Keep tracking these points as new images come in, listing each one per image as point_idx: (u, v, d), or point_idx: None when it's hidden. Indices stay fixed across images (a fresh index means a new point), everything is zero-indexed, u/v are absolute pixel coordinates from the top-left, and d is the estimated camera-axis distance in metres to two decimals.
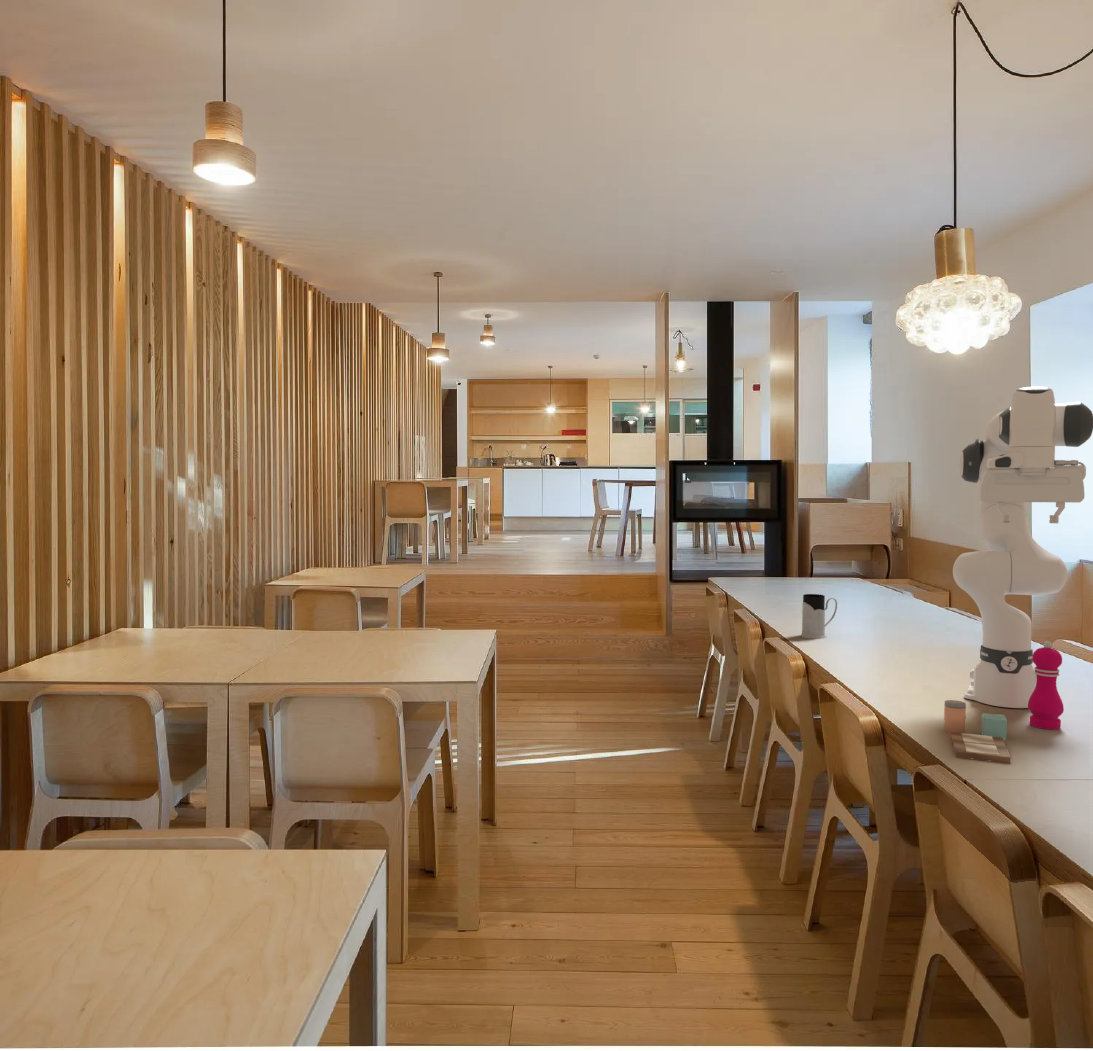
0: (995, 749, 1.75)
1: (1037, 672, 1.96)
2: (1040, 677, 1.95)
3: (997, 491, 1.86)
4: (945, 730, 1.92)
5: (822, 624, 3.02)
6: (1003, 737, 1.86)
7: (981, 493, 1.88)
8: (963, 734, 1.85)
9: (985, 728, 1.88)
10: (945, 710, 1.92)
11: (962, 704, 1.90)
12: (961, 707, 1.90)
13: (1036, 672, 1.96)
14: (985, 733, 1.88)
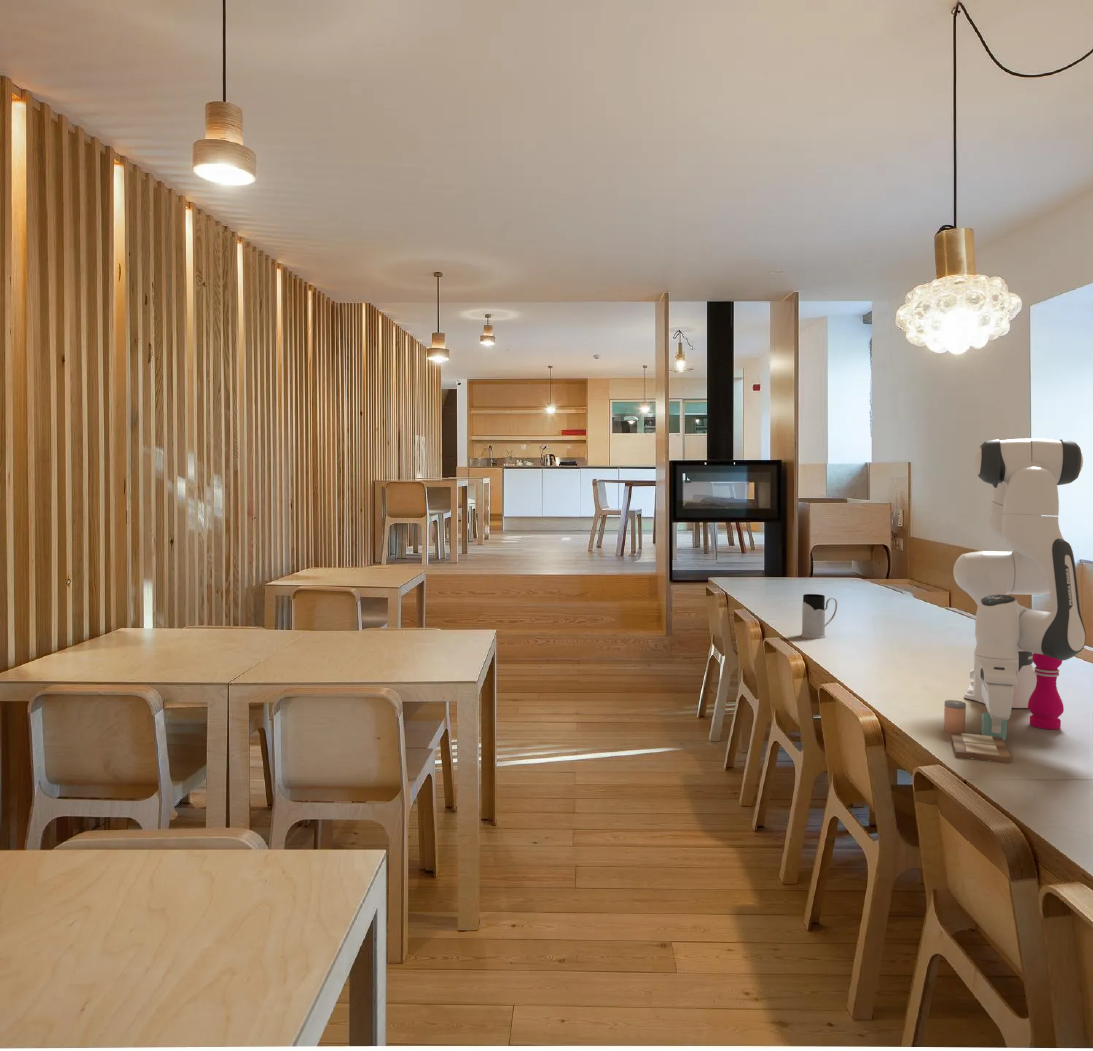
0: (995, 749, 1.75)
1: (1037, 672, 1.96)
2: (1040, 677, 1.95)
3: None
4: (945, 730, 1.92)
5: (822, 624, 3.02)
6: (1003, 736, 1.86)
7: (1010, 712, 1.79)
8: (963, 734, 1.85)
9: (985, 728, 1.88)
10: (945, 710, 1.92)
11: (962, 704, 1.90)
12: (961, 707, 1.90)
13: (1036, 672, 1.96)
14: (985, 733, 1.88)
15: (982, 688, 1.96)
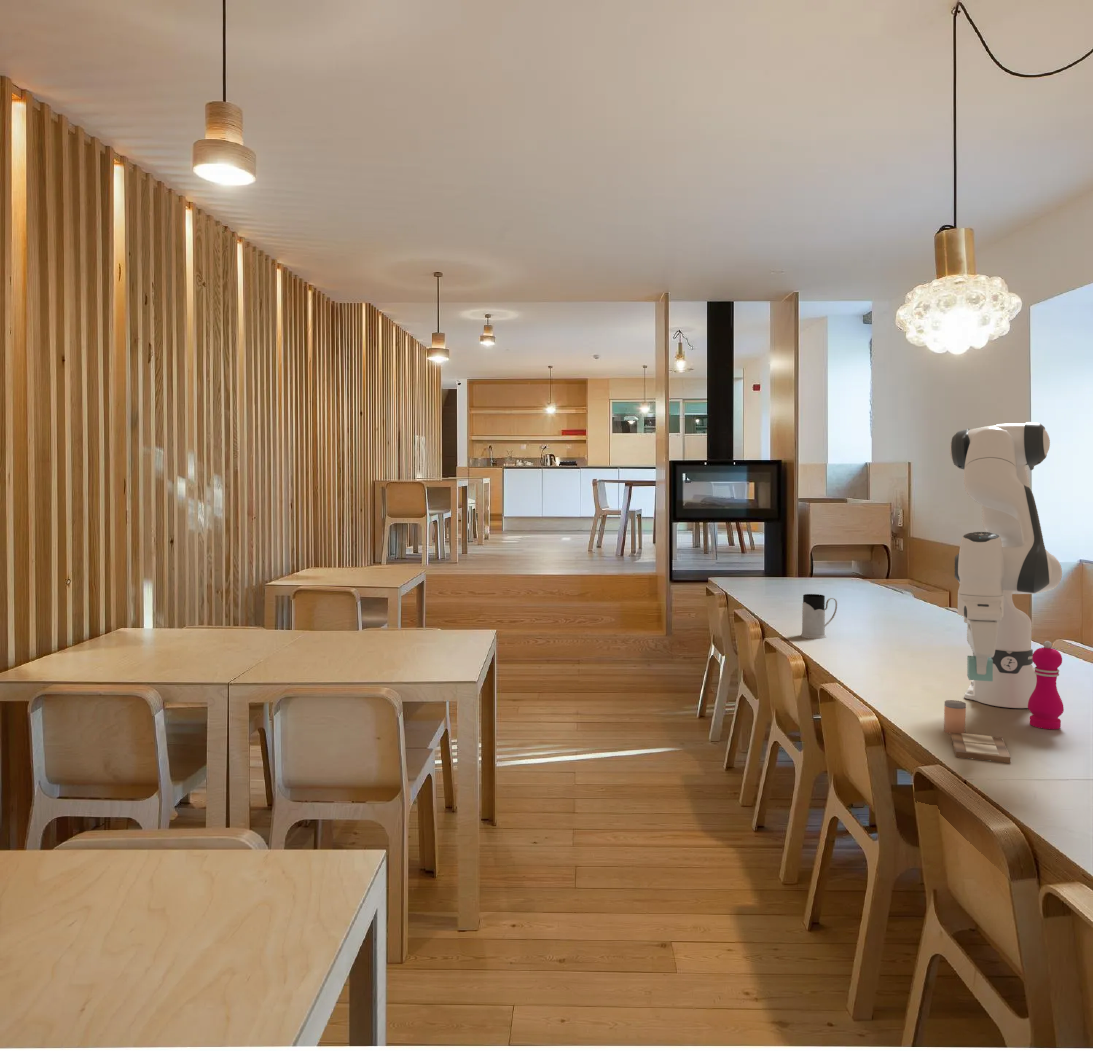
0: (995, 749, 1.75)
1: (1037, 672, 1.96)
2: (1040, 677, 1.95)
3: None
4: (945, 730, 1.92)
5: (822, 624, 3.02)
6: (989, 678, 1.79)
7: (994, 649, 1.72)
8: (963, 734, 1.85)
9: (970, 669, 1.80)
10: (945, 710, 1.92)
11: (962, 704, 1.90)
12: (961, 707, 1.90)
13: (1036, 672, 1.96)
14: (970, 674, 1.80)
15: (967, 632, 1.89)
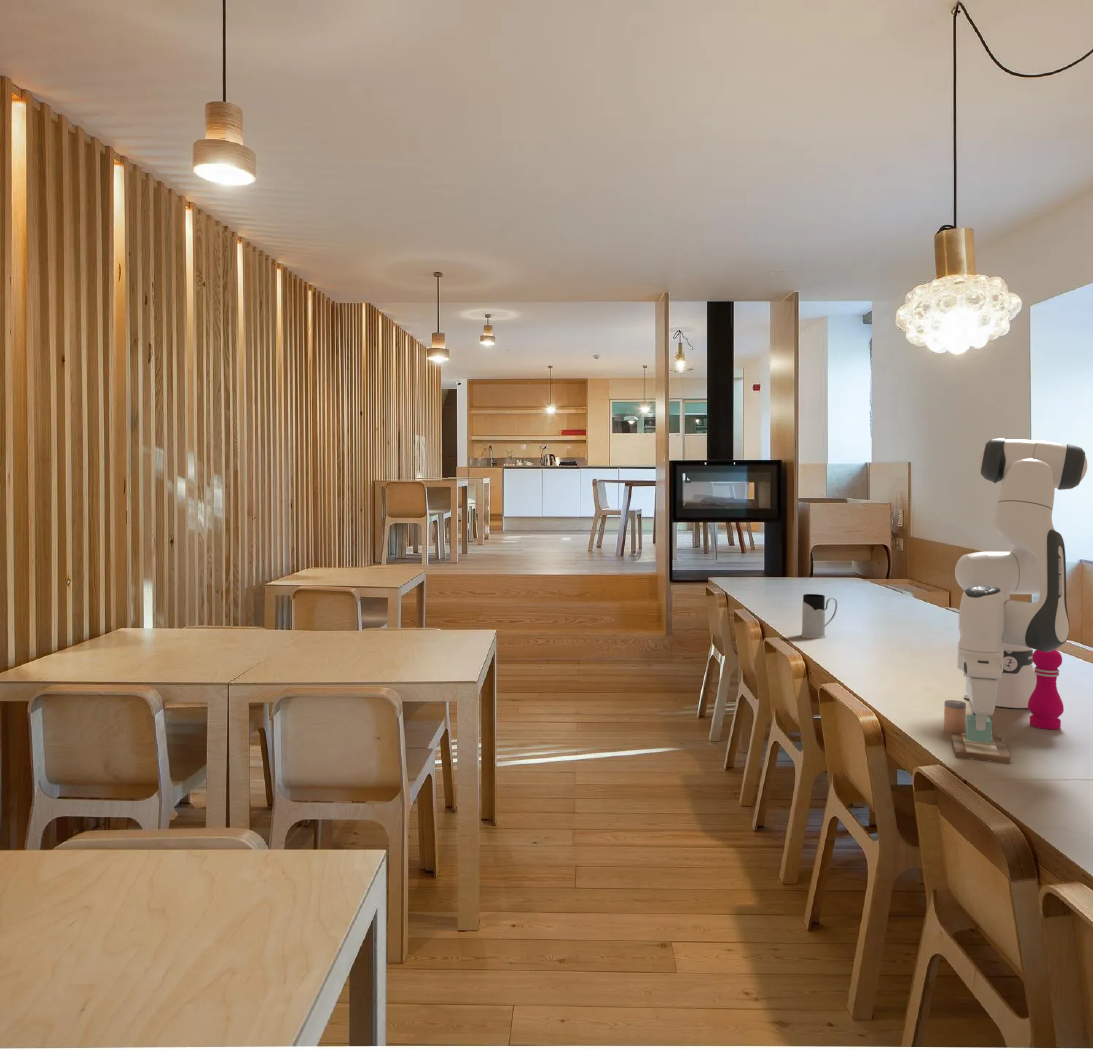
0: (995, 749, 1.75)
1: (1037, 672, 1.96)
2: (1040, 677, 1.95)
3: None
4: (945, 730, 1.92)
5: (822, 624, 3.02)
6: (988, 739, 1.80)
7: (994, 707, 1.72)
8: (963, 734, 1.85)
9: (969, 730, 1.81)
10: (945, 710, 1.92)
11: (962, 704, 1.90)
12: (961, 707, 1.90)
13: (1036, 672, 1.96)
14: (969, 735, 1.81)
15: (966, 683, 1.90)
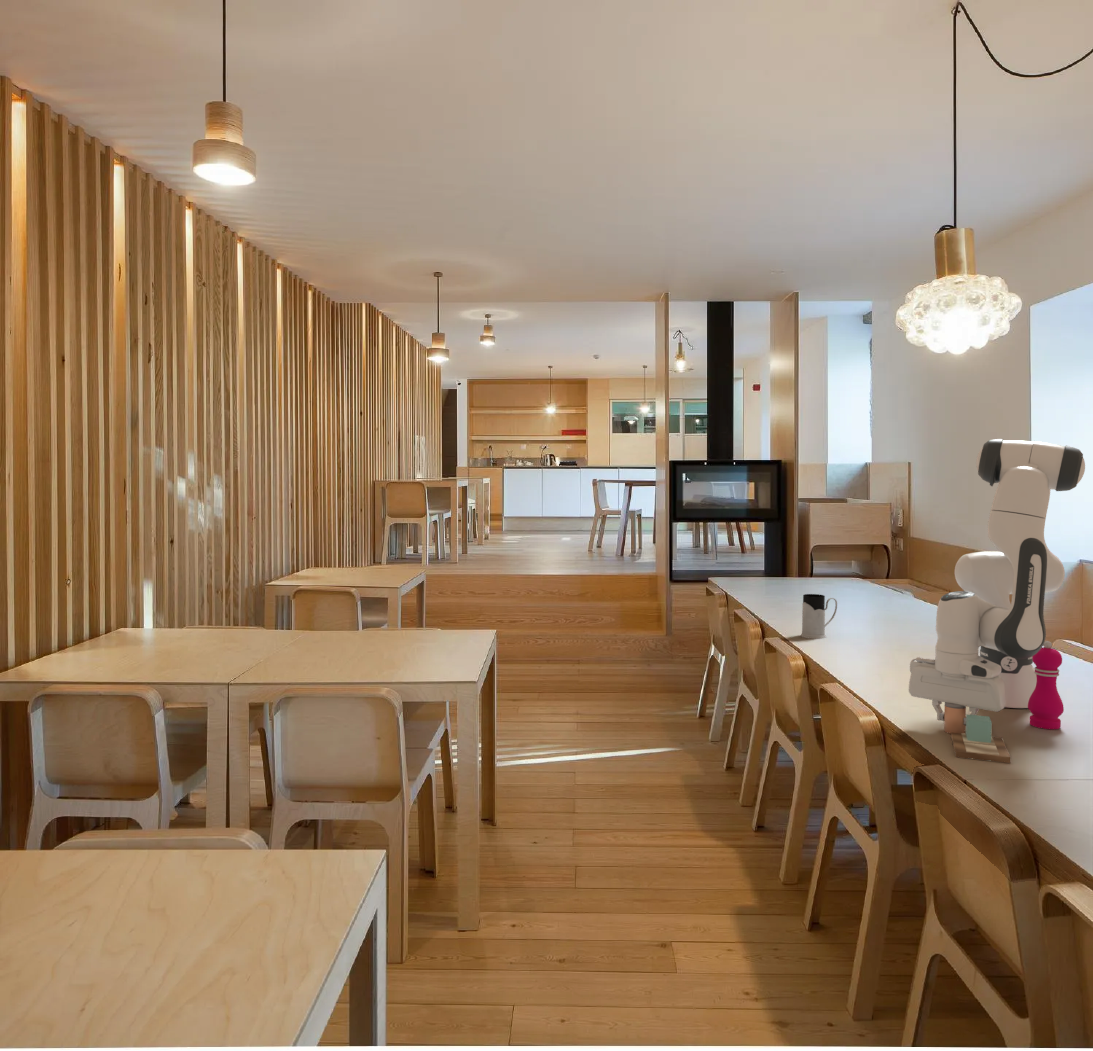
0: (995, 749, 1.75)
1: (1037, 672, 1.96)
2: (1040, 677, 1.95)
3: None
4: (945, 730, 1.92)
5: (822, 624, 3.02)
6: (988, 739, 1.80)
7: None
8: (963, 734, 1.85)
9: (969, 730, 1.81)
10: (945, 710, 1.92)
11: None
12: (961, 707, 1.90)
13: (1036, 672, 1.96)
14: (969, 735, 1.81)
15: (918, 687, 1.96)
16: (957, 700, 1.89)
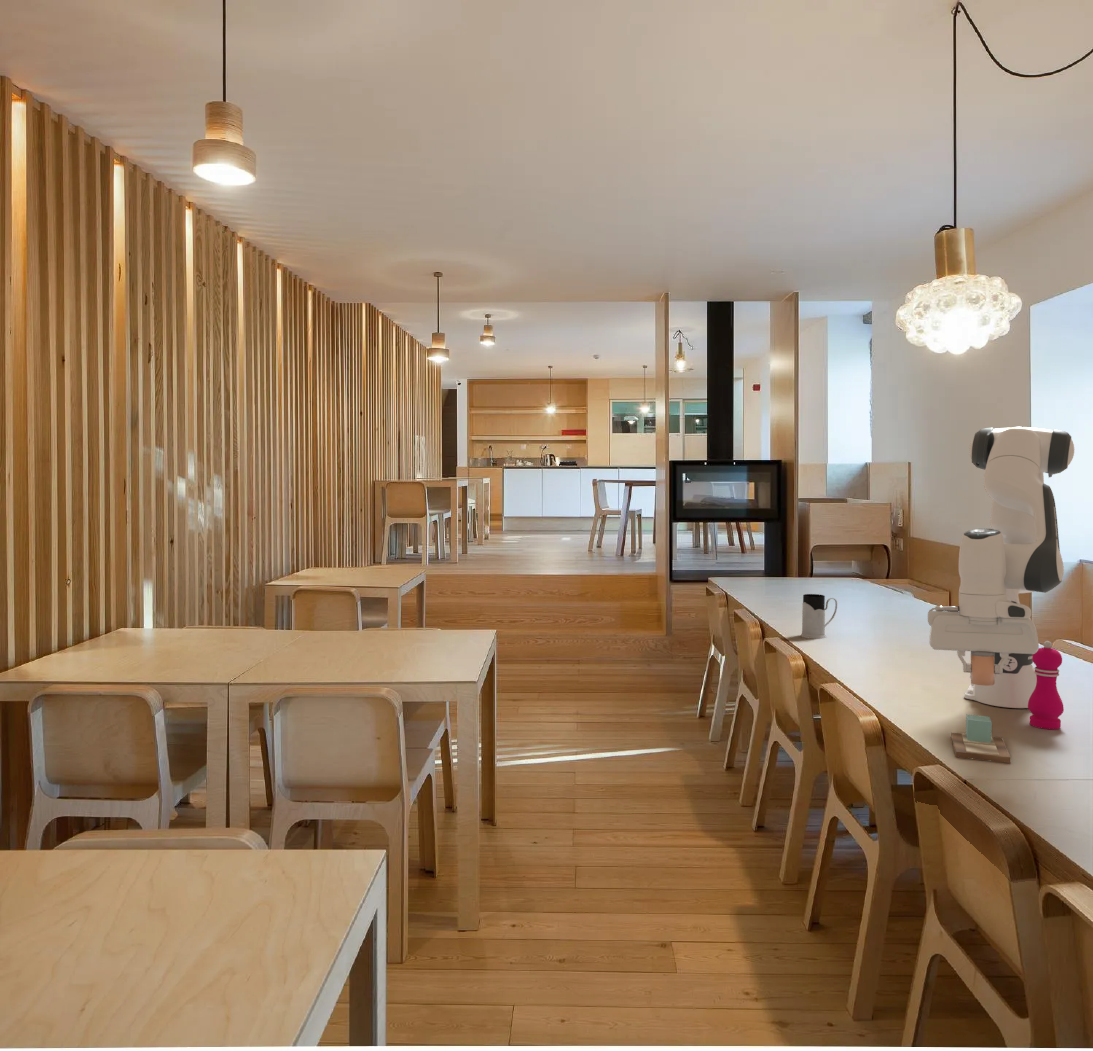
0: (995, 749, 1.75)
1: (1037, 672, 1.96)
2: (1040, 677, 1.95)
3: None
4: (976, 682, 1.75)
5: (822, 624, 3.02)
6: (988, 739, 1.80)
7: None
8: (963, 734, 1.85)
9: (969, 730, 1.81)
10: (975, 660, 1.75)
11: None
12: (992, 654, 1.74)
13: (1036, 672, 1.96)
14: (969, 735, 1.81)
15: (942, 638, 1.77)
16: (989, 647, 1.73)
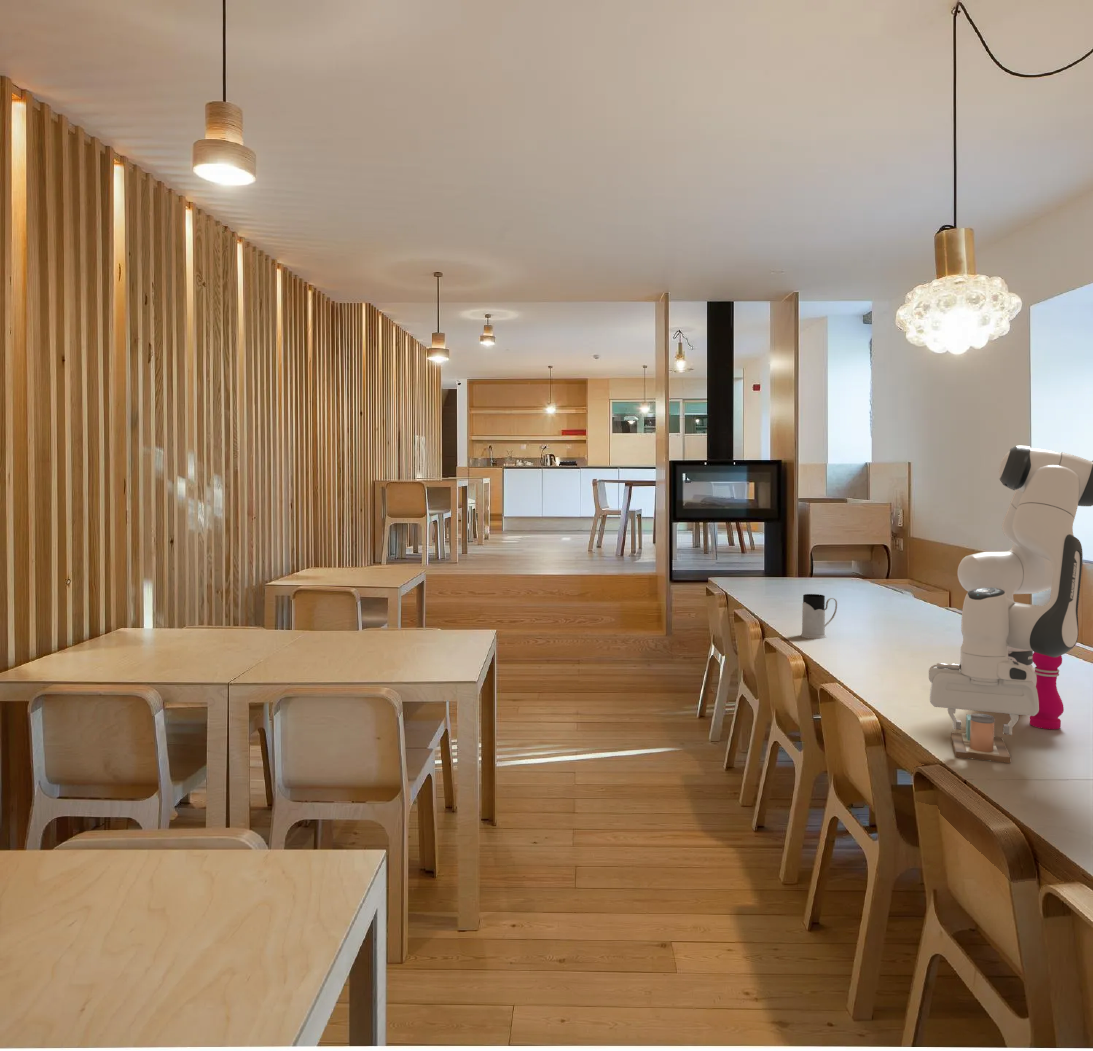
0: (995, 749, 1.75)
1: (1037, 672, 1.96)
2: (1040, 677, 1.95)
3: None
4: (975, 748, 1.75)
5: (822, 624, 3.02)
6: None
7: None
8: (963, 734, 1.85)
9: (969, 730, 1.81)
10: (975, 726, 1.75)
11: (991, 718, 1.75)
12: (992, 721, 1.74)
13: (1036, 672, 1.96)
14: (969, 735, 1.81)
15: (942, 696, 1.77)
16: (989, 707, 1.73)
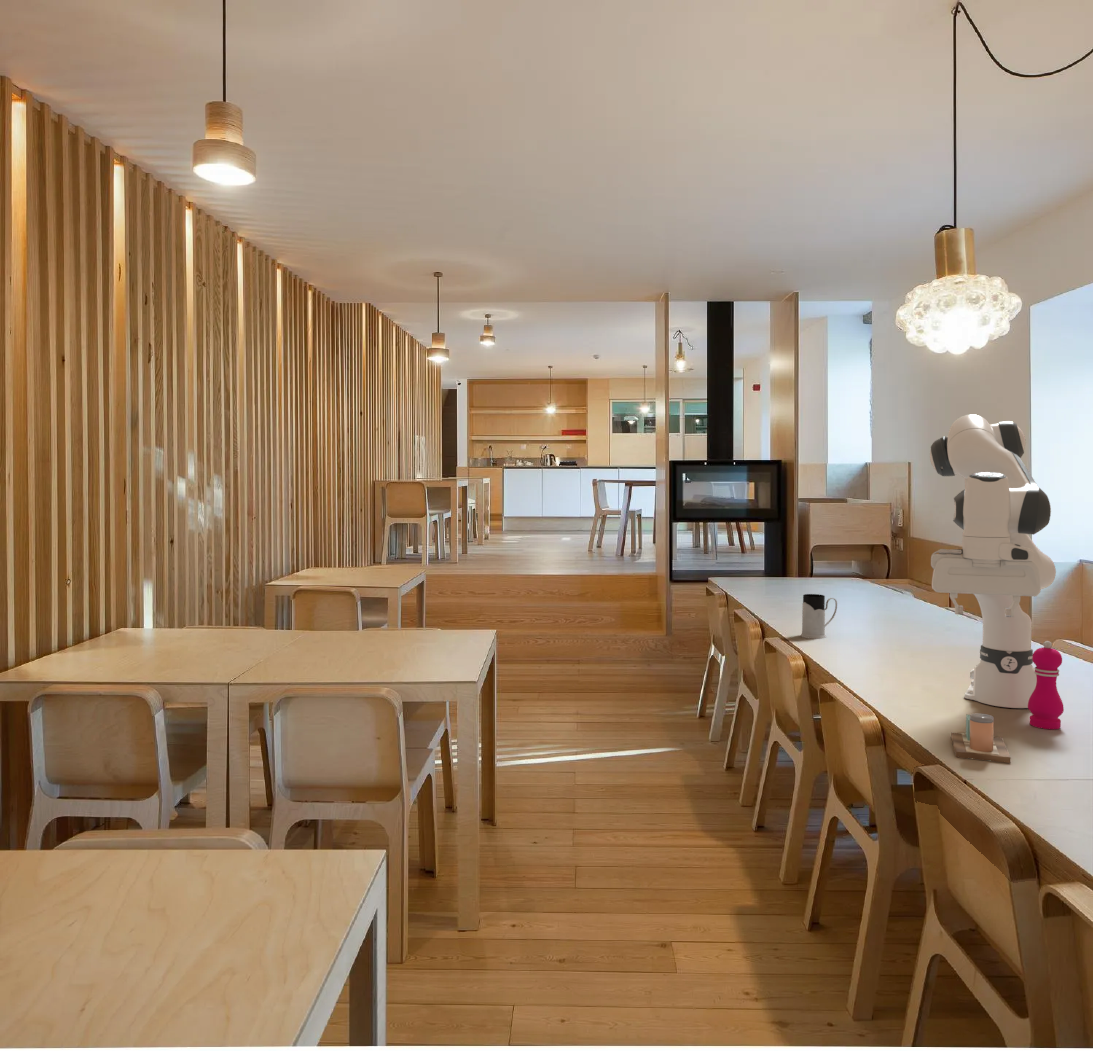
0: (995, 749, 1.75)
1: (1037, 672, 1.96)
2: (1040, 677, 1.95)
3: None
4: (974, 748, 1.75)
5: (822, 624, 3.02)
6: None
7: None
8: (963, 734, 1.85)
9: (969, 730, 1.81)
10: (974, 726, 1.75)
11: (990, 717, 1.75)
12: (991, 721, 1.74)
13: (1036, 672, 1.96)
14: (969, 735, 1.81)
15: (944, 581, 1.78)
16: (991, 589, 1.74)
